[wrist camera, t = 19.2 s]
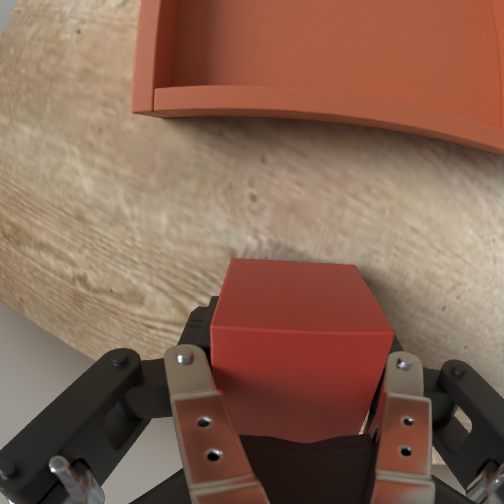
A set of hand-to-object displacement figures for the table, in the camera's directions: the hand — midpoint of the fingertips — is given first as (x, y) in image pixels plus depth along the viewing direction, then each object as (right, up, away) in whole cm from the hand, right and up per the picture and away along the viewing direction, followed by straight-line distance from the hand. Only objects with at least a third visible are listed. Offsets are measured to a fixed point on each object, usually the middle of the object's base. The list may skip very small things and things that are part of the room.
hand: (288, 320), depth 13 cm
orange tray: (+3, +14, -4) cm, 15 cm away
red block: (0, 0, 0) cm, 0 cm away
